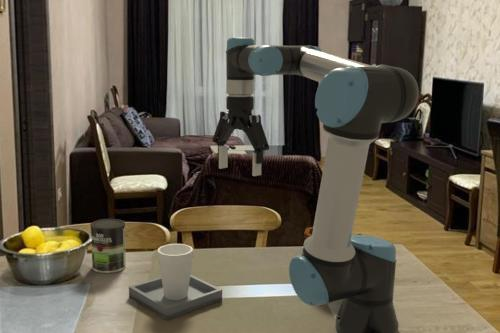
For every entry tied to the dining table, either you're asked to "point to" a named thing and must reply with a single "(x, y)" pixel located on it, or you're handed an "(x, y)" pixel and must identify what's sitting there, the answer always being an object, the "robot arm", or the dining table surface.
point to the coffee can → (108, 245)
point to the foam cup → (175, 269)
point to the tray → (155, 300)
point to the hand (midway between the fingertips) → (239, 171)
